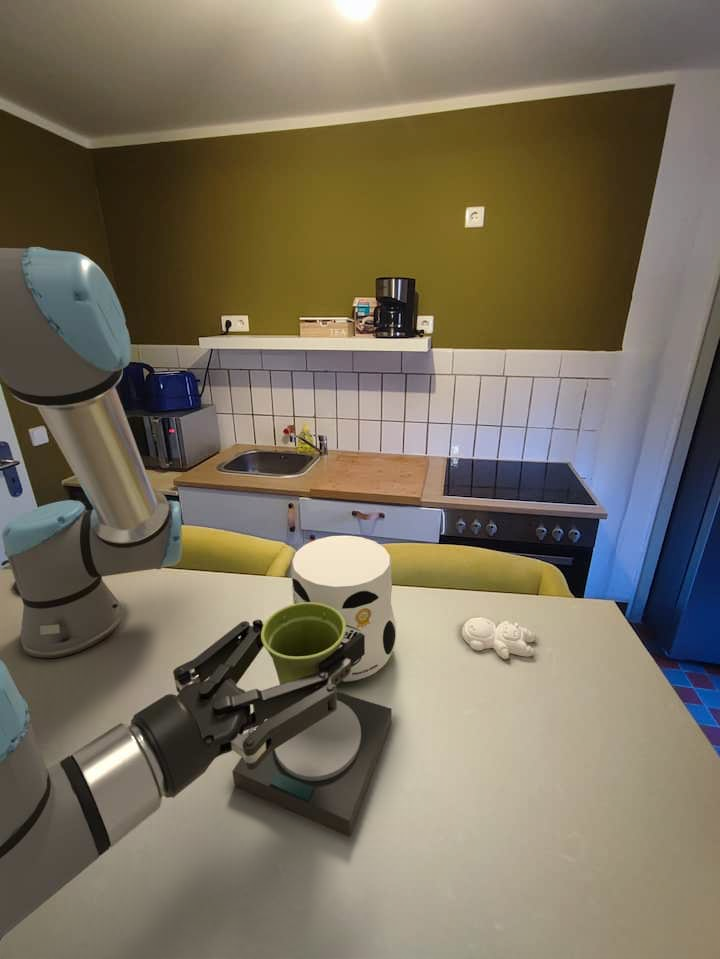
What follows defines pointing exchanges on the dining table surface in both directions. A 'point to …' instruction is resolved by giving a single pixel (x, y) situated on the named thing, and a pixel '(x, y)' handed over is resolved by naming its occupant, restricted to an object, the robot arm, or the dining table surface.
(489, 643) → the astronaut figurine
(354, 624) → the milk container
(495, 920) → the dining table surface
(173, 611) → the dining table surface
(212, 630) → the dining table surface
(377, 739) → the scale
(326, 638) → the plant pot
